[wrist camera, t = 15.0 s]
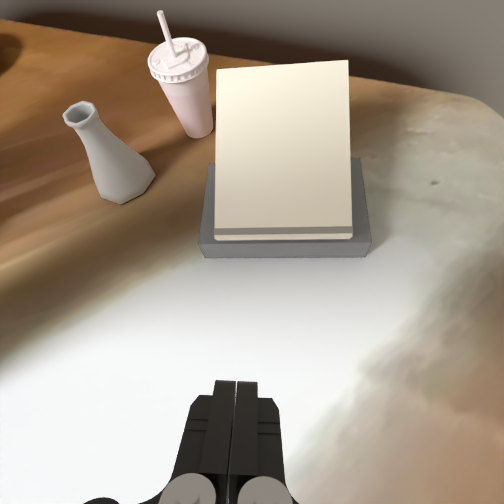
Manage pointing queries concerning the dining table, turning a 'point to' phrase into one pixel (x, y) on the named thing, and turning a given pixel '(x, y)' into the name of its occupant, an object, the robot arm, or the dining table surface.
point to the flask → (109, 156)
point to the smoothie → (184, 80)
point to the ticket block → (288, 248)
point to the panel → (283, 152)
